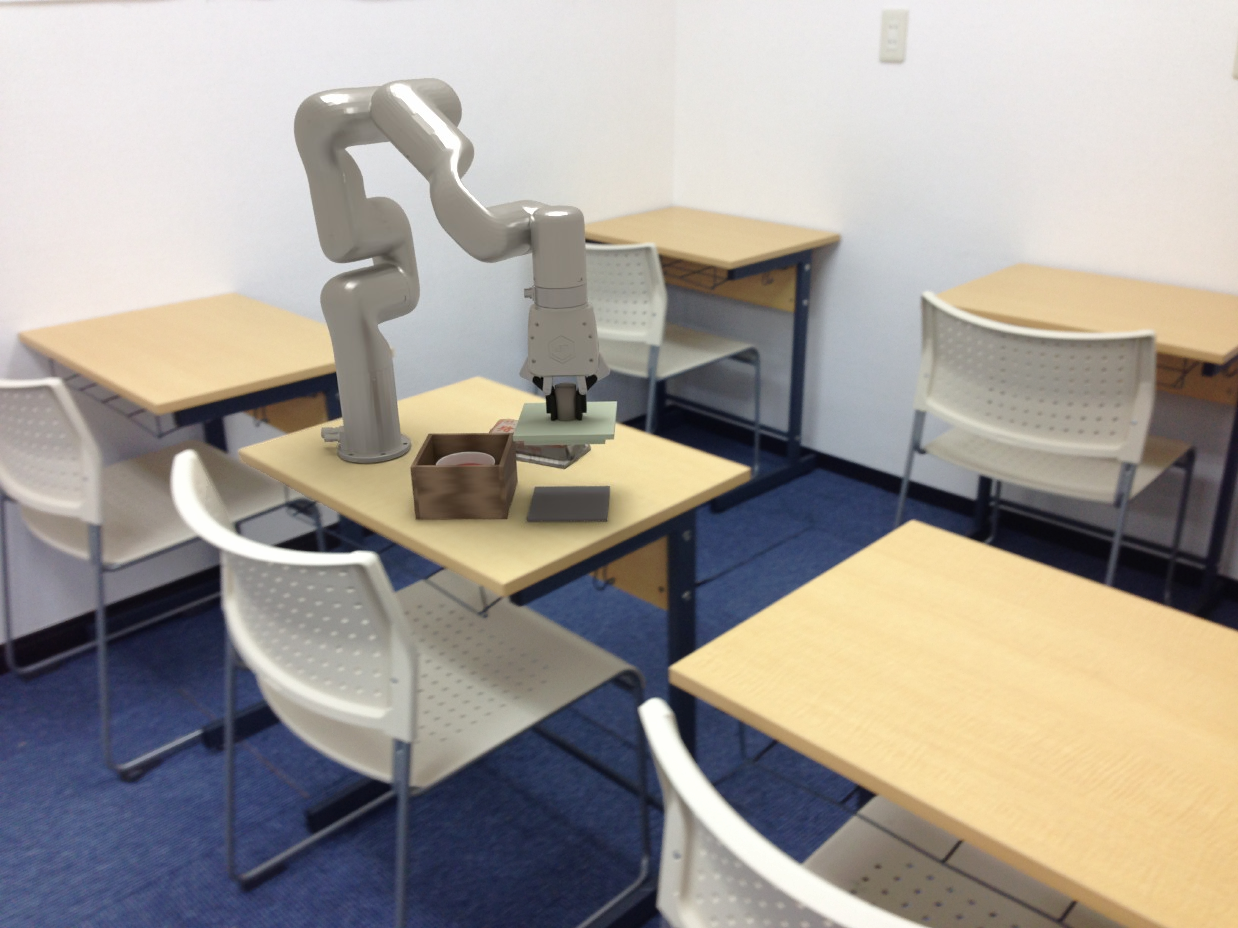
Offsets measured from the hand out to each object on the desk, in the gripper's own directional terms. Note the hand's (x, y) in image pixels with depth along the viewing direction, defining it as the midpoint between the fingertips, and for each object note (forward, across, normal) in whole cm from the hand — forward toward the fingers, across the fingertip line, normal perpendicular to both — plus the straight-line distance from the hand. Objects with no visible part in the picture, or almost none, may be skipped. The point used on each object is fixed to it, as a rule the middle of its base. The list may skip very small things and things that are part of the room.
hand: (567, 416), depth 155 cm
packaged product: (+15, -8, +22) cm, 28 cm away
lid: (+2, 0, 0) cm, 2 cm away
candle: (+15, -16, +2) cm, 22 cm away
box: (+14, -16, +2) cm, 22 cm away
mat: (+15, 0, 0) cm, 15 cm away
